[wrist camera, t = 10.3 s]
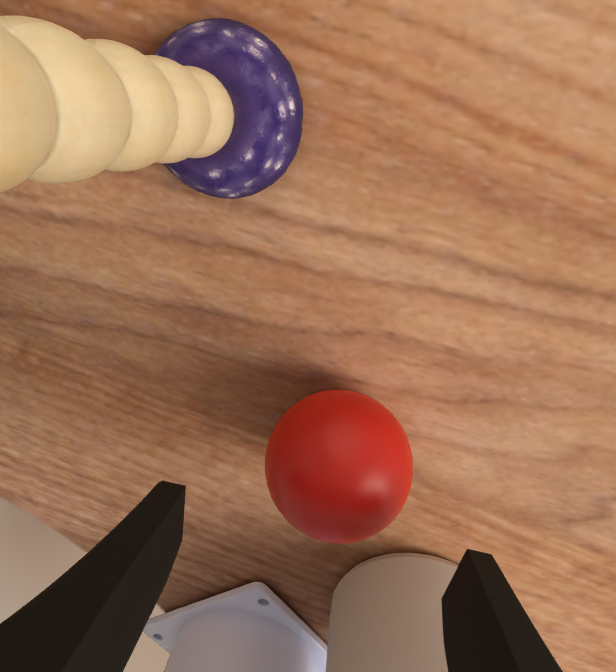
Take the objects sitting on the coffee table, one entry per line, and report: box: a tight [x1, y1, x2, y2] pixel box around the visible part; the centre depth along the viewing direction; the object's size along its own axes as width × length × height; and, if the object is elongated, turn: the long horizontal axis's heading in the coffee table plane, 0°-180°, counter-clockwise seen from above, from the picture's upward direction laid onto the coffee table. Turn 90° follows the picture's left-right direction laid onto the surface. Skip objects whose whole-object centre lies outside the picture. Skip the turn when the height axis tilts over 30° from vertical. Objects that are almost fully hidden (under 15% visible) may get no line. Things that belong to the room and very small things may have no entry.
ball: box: [265, 390, 413, 544], centre depth 14 cm, size 5×5×5 cm
